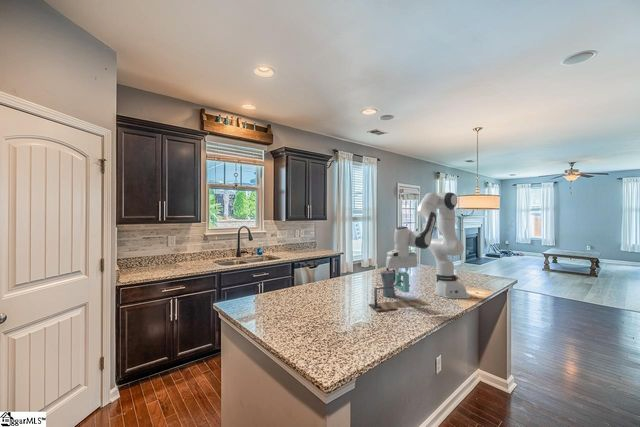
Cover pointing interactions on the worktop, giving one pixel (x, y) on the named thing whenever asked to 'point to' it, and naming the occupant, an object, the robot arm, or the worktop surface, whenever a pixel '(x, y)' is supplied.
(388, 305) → the board
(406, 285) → the teal square frame
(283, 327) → the worktop surface
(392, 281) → the moka pot
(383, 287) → the wire
